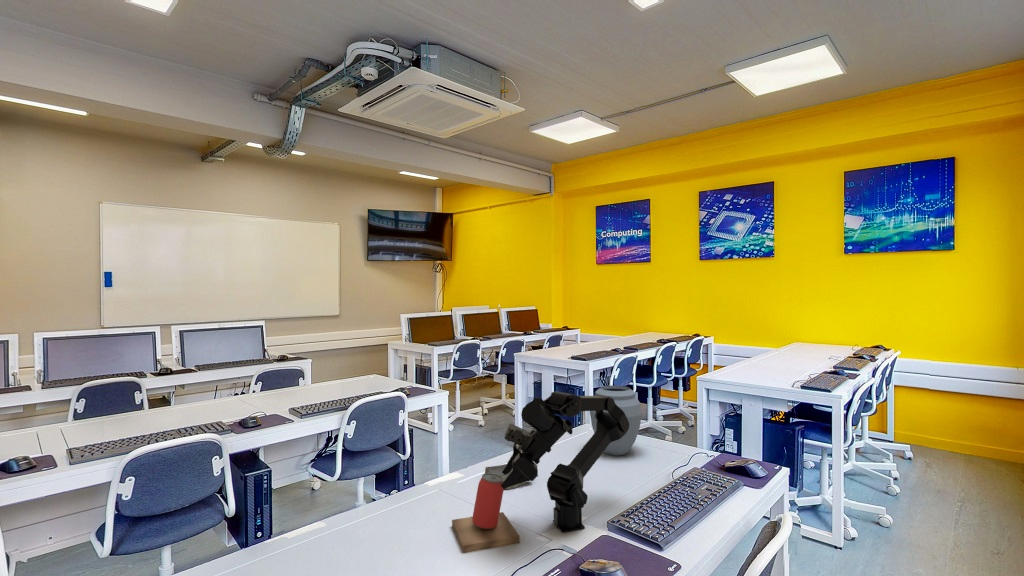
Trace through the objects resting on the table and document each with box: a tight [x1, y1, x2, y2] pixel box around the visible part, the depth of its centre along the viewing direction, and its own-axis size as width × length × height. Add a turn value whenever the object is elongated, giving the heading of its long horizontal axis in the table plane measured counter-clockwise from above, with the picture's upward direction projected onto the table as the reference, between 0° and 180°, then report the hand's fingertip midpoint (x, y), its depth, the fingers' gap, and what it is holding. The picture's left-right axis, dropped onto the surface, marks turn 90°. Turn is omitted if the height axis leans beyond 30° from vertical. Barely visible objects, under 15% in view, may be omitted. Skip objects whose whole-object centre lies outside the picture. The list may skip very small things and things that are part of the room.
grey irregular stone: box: [484, 463, 529, 490], centre depth 162 cm, size 15×16×4 cm
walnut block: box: [451, 511, 521, 554], centre depth 126 cm, size 14×14×2 cm
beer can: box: [471, 473, 505, 529], centre depth 127 cm, size 7×7×12 cm
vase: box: [589, 385, 643, 456], centre depth 188 cm, size 20×20×24 cm
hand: (502, 480), depth 127 cm, fingers open, 9 cm apart
